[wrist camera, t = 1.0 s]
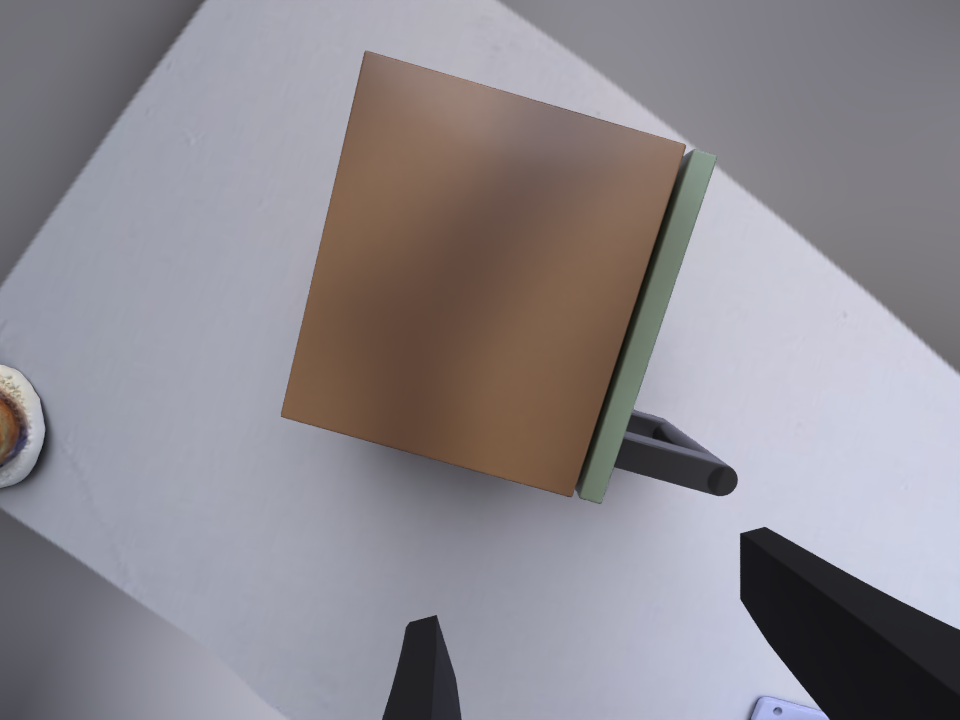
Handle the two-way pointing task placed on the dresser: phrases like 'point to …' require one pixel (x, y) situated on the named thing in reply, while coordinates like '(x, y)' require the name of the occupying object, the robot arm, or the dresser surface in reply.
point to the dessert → (18, 426)
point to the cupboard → (476, 274)
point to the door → (619, 427)
